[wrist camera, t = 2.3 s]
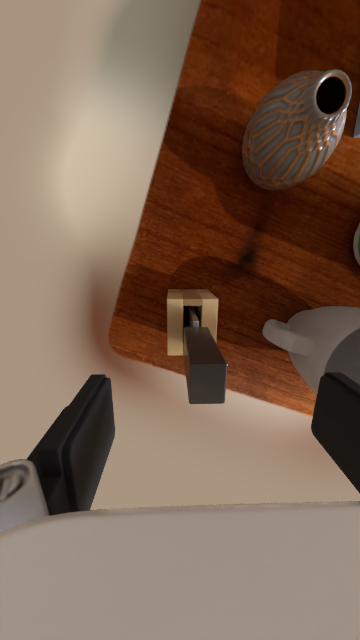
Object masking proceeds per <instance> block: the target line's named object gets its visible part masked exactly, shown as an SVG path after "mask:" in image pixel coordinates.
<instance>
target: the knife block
mask: <svg viewBox="0 0 360 640" xmlns="http://www.w3.org/2000/svg"><path fill="white" fill-rule="evenodd" d="M183 306H195V314H196V316H197V319H198V321H199V327H208V328H209V330H210V332H211V334H212V336H213V338H214V340H215V342H216V338H217V319H218V298H217V297H215V296H214V295H213V294H212V293H211V292H210V291H209V290H208V289H196V290H195V289H181V290H180V289H169V290H168V295H167V352H168V355H184V329H183Z"/></svg>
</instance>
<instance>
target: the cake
mask: <svg viewBox="0 0 360 640" xmlns="http://www.w3.org/2000/svg"><path fill="white" fill-rule="evenodd" d="M353 138H360V102H359V108H358V113H357V119H356V124H355V130H354V135H353Z"/></svg>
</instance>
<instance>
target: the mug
mask: <svg viewBox="0 0 360 640" xmlns="http://www.w3.org/2000/svg"><path fill="white" fill-rule="evenodd" d="M262 332H263V336H264V337H265V338H266V339H267V340H269V341H270V342H272V343H273V344H275V345H276V346H278V347H280V348H282V349H284V350H287V351H288V354H289V357H290V359H291V361H292V363H293V365H294V367H295V368H296V370H297V371H298V373H299V374H300V375H301V377H302V378H303V379H304V381H305V382H306V383H307V384H308V385H309V386H310V387H311V389H312V390H313V391H314V392H315V393H316V394H317V393H318V387H319V382H320V378H321V376H323V375H324V374H325V373H326V372H341V373H343V374H344V375H346V376H347V377H349V378H350V379H352V380H353V381H355V382H356V383H358V384H359V385H360V308H358V307H349V306H326V307H319V308H315V309H311V310H304V311H301V312H299V313H297V314H295V315H294V316H292V317H291V318H290V319H289V321H288V322H287V323H283V322H279V321H277V320H275V319H269V320H268V321H267V322H266V323H265V325H264V328H263V331H262Z"/></svg>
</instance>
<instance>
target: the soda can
mask: <svg viewBox="0 0 360 640" xmlns="http://www.w3.org/2000/svg"><path fill="white" fill-rule="evenodd" d="M353 249H354V255H355V258H356V260H357V262H358V263H359V265H360V223H359V225H358V228H357V230H356V232H355V235H354V242H353Z"/></svg>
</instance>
